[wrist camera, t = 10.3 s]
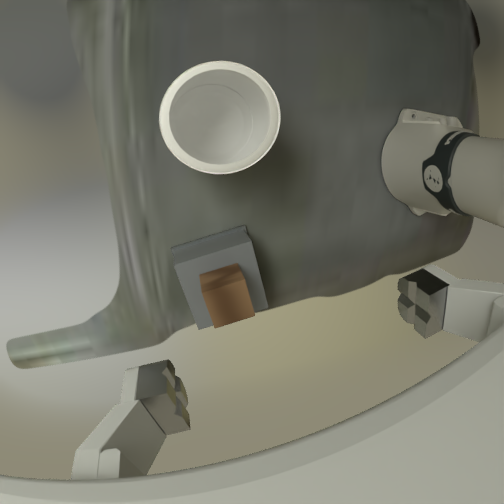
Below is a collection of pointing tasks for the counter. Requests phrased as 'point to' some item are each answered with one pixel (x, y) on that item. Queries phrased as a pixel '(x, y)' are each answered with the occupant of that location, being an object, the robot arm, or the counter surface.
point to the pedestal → (214, 257)
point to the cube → (226, 295)
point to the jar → (219, 117)
